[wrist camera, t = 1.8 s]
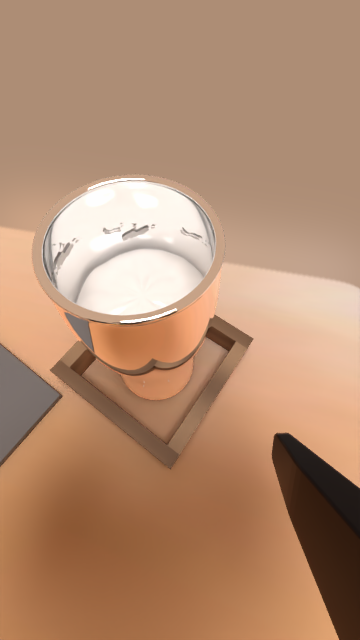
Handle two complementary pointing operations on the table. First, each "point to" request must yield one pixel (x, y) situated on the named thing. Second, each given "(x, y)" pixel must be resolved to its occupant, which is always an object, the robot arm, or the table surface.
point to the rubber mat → (20, 402)
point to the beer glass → (134, 275)
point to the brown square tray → (71, 372)
